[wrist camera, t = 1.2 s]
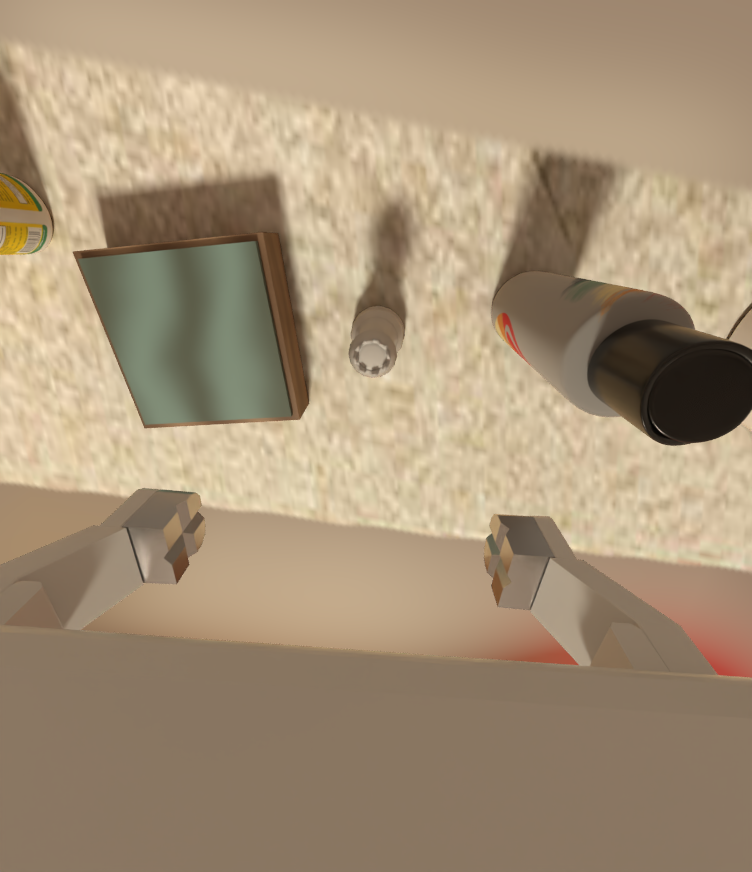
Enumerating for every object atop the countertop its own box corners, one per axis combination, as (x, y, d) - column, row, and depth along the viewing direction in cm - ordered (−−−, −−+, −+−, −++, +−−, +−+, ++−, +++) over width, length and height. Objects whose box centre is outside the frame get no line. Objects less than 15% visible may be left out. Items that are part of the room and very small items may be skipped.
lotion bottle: (510, 357, 32) (650, 501, 14) (476, 300, 30) (588, 383, 12) (574, 316, 30) (829, 421, 12) (543, 253, 28) (790, 269, 10)
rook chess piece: (376, 368, 33) (370, 403, 26) (340, 330, 32) (323, 355, 24) (415, 334, 31) (420, 360, 24) (379, 292, 30) (373, 307, 23)
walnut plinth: (278, 233, 28) (260, 231, 25) (308, 403, 35) (298, 421, 31) (107, 250, 30) (68, 251, 26) (167, 411, 36) (141, 430, 32)
